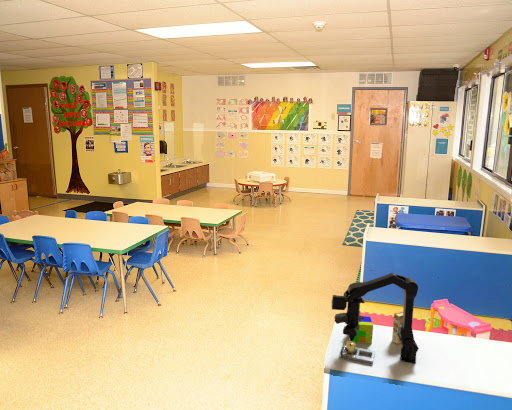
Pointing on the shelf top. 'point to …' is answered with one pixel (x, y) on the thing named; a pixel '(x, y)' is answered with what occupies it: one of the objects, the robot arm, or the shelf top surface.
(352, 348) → the gold metal cylinder
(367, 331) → the puzzle toy
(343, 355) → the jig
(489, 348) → the shelf top surface
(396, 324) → the candy box
